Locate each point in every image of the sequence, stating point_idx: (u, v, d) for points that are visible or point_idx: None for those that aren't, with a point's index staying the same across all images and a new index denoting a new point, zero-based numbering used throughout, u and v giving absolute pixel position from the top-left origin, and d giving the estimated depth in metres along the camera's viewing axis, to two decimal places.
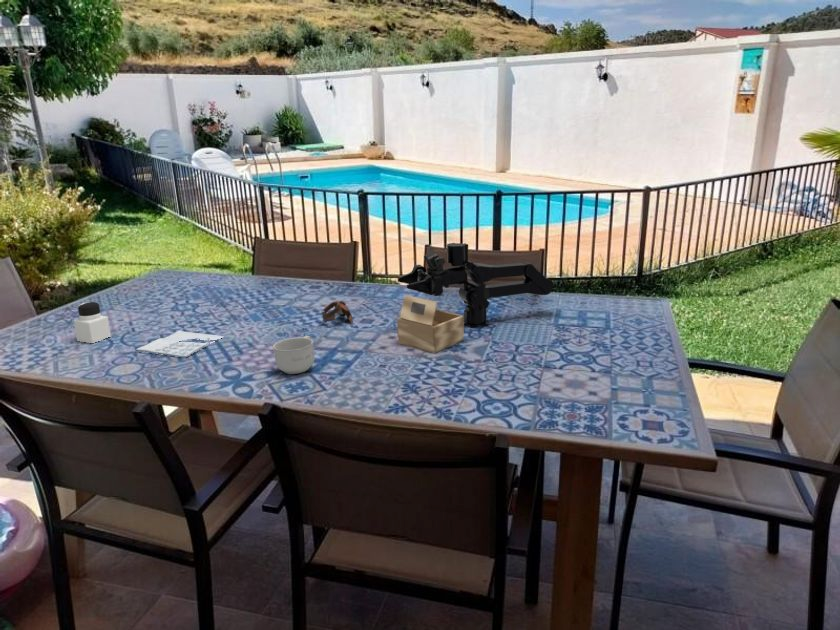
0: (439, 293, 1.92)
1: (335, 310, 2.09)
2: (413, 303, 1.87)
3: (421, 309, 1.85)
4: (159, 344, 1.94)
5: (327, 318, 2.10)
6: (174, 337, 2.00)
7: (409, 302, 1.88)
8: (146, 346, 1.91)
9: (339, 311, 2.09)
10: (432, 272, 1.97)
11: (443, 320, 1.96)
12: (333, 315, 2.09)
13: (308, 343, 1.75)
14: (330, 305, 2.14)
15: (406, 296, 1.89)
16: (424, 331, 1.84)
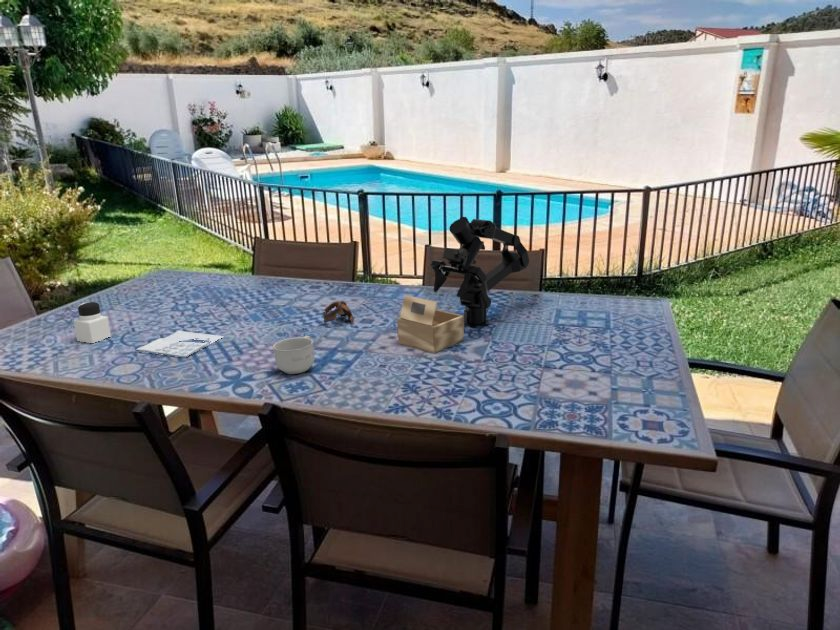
0: (485, 279, 1.93)
1: (336, 310, 2.09)
2: (413, 303, 1.87)
3: (421, 309, 1.85)
4: (159, 344, 1.94)
5: (328, 318, 2.09)
6: (174, 337, 2.00)
7: (409, 302, 1.88)
8: (146, 346, 1.91)
9: (340, 311, 2.09)
10: (460, 264, 1.94)
11: (443, 320, 1.96)
12: (334, 315, 2.09)
13: (308, 343, 1.75)
14: (331, 305, 2.14)
15: (406, 296, 1.89)
16: (424, 331, 1.84)
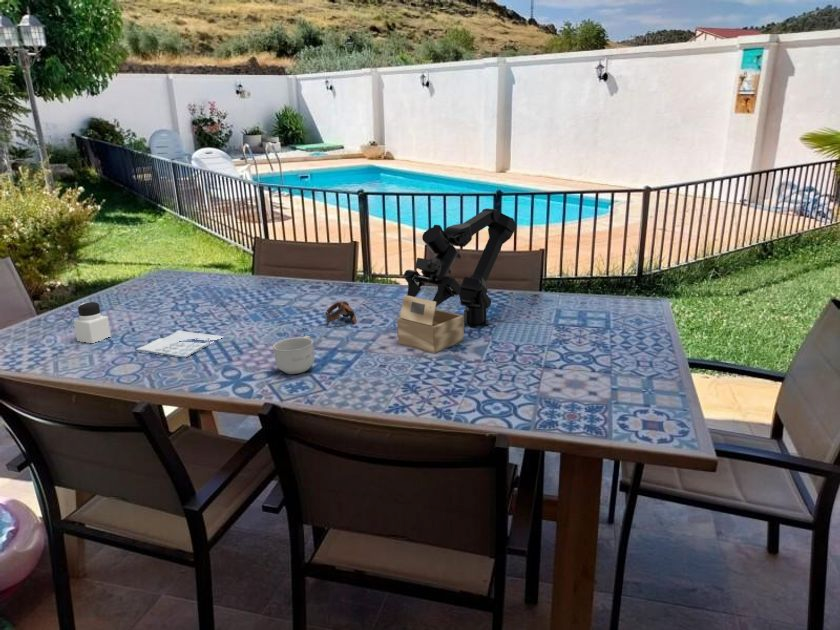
0: (460, 290, 1.84)
1: (339, 310, 2.08)
2: (412, 303, 1.87)
3: (420, 309, 1.85)
4: (159, 344, 1.94)
5: (331, 319, 2.09)
6: (174, 337, 2.00)
7: (408, 302, 1.88)
8: (146, 346, 1.91)
9: (343, 311, 2.09)
10: (434, 275, 1.86)
11: (443, 320, 1.96)
12: (337, 315, 2.08)
13: (308, 343, 1.75)
14: (333, 305, 2.14)
15: (405, 296, 1.89)
16: (424, 331, 1.84)
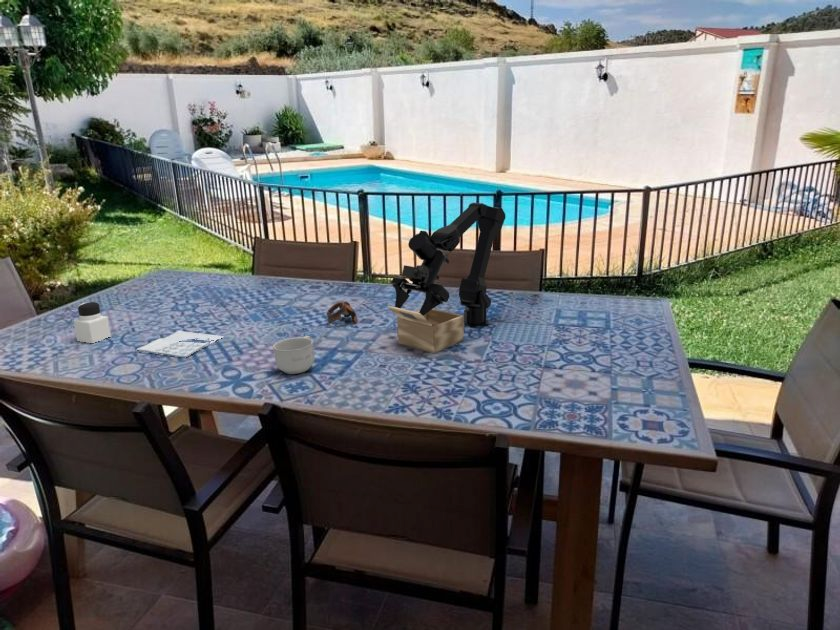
0: (448, 297, 1.80)
1: (340, 311, 2.08)
2: (401, 312, 1.84)
3: (412, 316, 1.82)
4: (159, 344, 1.94)
5: (332, 319, 2.09)
6: (174, 337, 2.00)
7: (397, 311, 1.85)
8: (146, 346, 1.91)
9: (344, 312, 2.09)
10: (421, 282, 1.82)
11: (443, 320, 1.96)
12: (338, 316, 2.08)
13: (308, 343, 1.75)
14: (335, 306, 2.13)
15: (390, 307, 1.85)
16: (424, 331, 1.84)
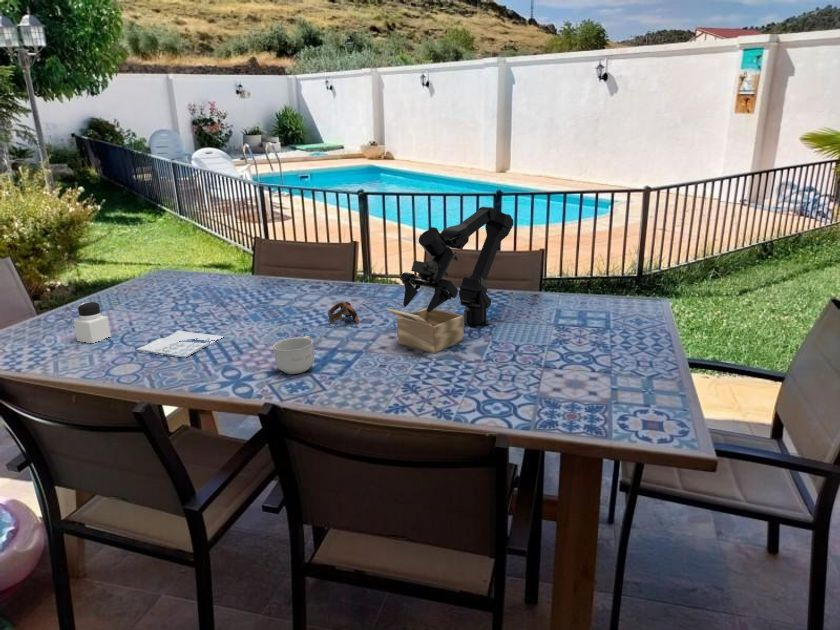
0: (456, 293, 1.83)
1: (342, 311, 2.08)
2: (400, 314, 1.83)
3: (411, 318, 1.82)
4: (159, 344, 1.94)
5: (333, 319, 2.09)
6: (174, 337, 2.00)
7: (396, 313, 1.85)
8: (146, 346, 1.91)
9: (346, 312, 2.08)
10: (430, 278, 1.85)
11: (443, 320, 1.96)
12: (340, 316, 2.08)
13: (308, 343, 1.75)
14: (336, 306, 2.13)
15: (389, 310, 1.84)
16: (424, 331, 1.84)
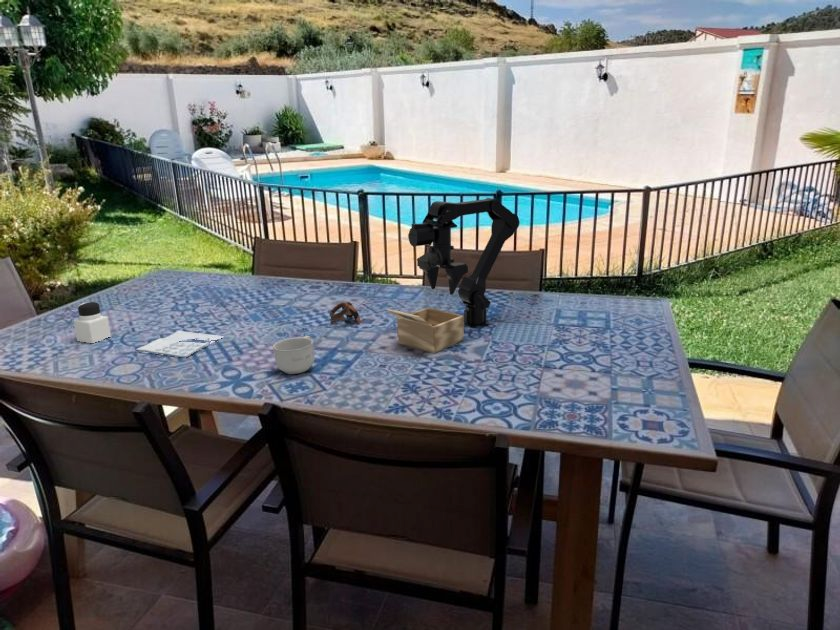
0: (466, 268, 1.92)
1: (343, 311, 2.08)
2: (400, 314, 1.83)
3: (411, 318, 1.82)
4: (159, 344, 1.94)
5: (335, 319, 2.08)
6: (174, 337, 2.00)
7: (396, 313, 1.85)
8: (146, 346, 1.91)
9: (347, 312, 2.08)
10: None
11: (443, 320, 1.96)
12: (341, 316, 2.07)
13: (308, 343, 1.75)
14: (337, 306, 2.13)
15: (389, 310, 1.84)
16: (424, 331, 1.84)
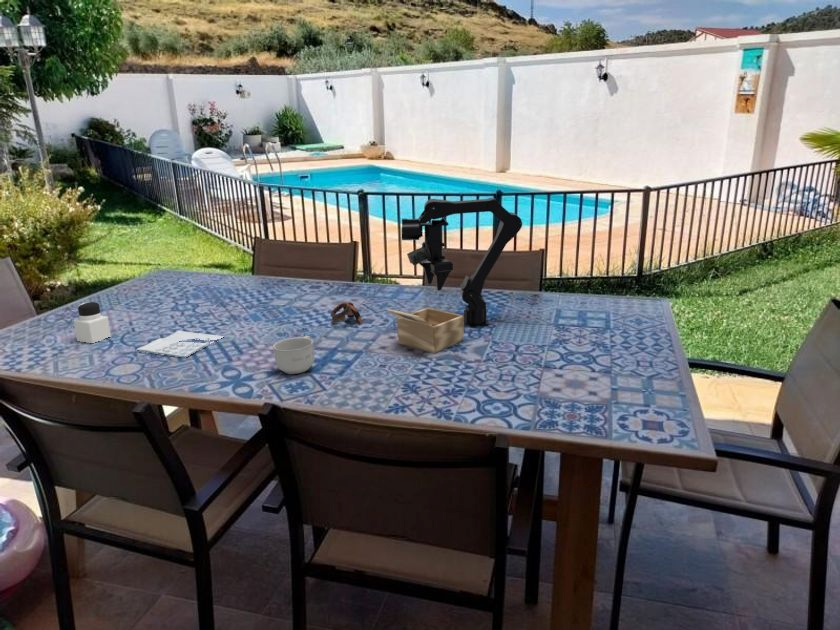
0: (450, 266, 1.95)
1: (345, 311, 2.07)
2: (400, 314, 1.83)
3: (411, 318, 1.82)
4: (159, 344, 1.94)
5: (337, 319, 2.08)
6: (174, 337, 2.00)
7: (396, 313, 1.85)
8: (146, 346, 1.91)
9: (349, 312, 2.08)
10: None
11: (443, 320, 1.96)
12: (343, 316, 2.07)
13: (308, 343, 1.75)
14: (339, 306, 2.13)
15: (389, 310, 1.84)
16: (424, 331, 1.84)
